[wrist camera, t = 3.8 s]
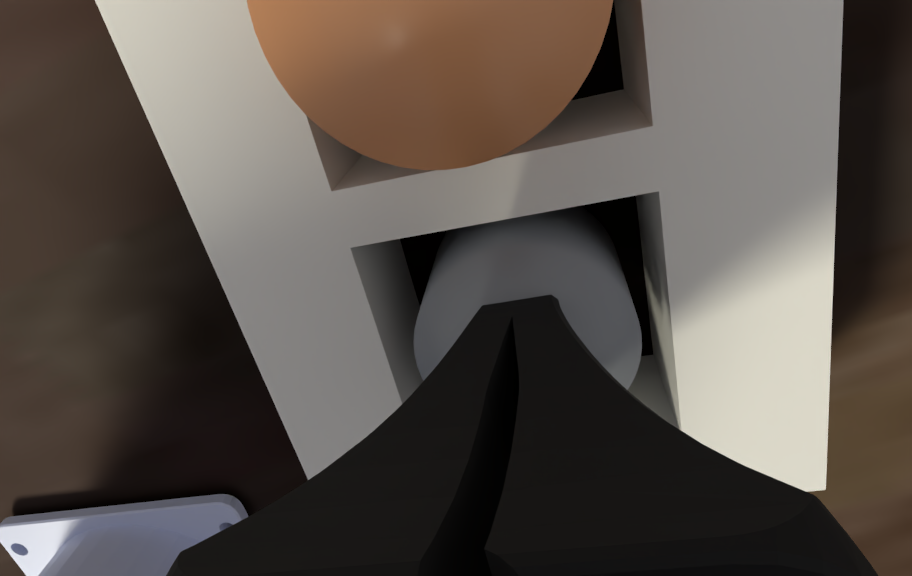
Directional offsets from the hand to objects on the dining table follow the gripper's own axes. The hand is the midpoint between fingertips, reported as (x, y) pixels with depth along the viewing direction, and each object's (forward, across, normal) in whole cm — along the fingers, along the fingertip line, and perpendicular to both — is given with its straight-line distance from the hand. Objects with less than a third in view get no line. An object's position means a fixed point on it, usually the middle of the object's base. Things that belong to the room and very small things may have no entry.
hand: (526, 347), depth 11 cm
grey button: (+3, 0, 0) cm, 3 cm away
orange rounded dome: (+1, 0, -6) cm, 6 cm away
